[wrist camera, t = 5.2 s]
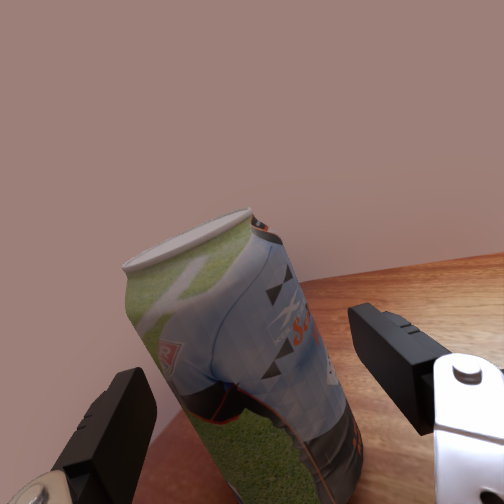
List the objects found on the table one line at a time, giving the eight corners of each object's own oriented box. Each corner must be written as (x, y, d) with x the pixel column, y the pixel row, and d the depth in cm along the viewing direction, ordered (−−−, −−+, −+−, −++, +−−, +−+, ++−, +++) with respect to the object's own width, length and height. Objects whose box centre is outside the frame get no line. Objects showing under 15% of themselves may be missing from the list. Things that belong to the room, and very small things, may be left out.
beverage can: (403, 511, 10) (351, 189, 7) (210, 604, 9) (60, 270, 6) (325, 394, 16) (280, 193, 13) (204, 442, 15) (126, 234, 12)
